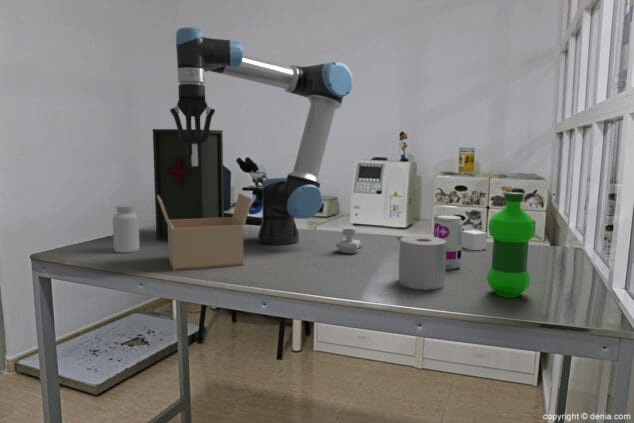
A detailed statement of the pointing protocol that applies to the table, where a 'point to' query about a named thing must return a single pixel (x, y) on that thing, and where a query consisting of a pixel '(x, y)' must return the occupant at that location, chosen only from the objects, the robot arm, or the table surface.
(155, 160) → the first aid box
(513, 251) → the plastic bottle
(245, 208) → the flap
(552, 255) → the table surface
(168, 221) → the flap
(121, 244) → the pill bottle
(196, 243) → the carton
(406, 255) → the toilet paper roll
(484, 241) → the white cube
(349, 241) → the stamp
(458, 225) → the supplement can
